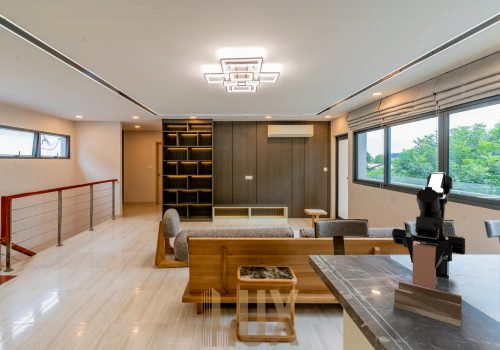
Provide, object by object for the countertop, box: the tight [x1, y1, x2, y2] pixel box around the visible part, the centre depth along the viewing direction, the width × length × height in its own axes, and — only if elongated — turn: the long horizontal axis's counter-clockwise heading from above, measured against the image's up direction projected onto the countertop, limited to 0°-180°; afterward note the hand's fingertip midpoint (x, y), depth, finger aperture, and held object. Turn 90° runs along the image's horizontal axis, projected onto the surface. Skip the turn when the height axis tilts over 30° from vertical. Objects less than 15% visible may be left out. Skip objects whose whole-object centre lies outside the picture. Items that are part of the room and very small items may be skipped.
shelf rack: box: [393, 280, 463, 327], centre depth 79 cm, size 10×16×5 cm, turn 51°
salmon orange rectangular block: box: [411, 242, 437, 289], centre depth 79 cm, size 3×6×12 cm, turn 49°
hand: (423, 264), depth 78 cm, fingers closed on salmon orange rectangular block, 5 cm apart
